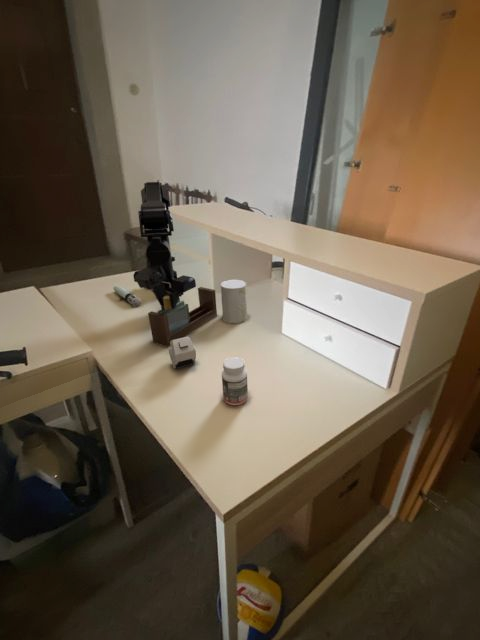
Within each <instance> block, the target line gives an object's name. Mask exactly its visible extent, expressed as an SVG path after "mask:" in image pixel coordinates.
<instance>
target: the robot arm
mask: <svg viewBox="0 0 480 640" xmlns="http://www.w3.org/2000/svg"><path fill="white" fill-rule="evenodd" d="M169 191H170V190H169V189H168V188H166V187H164V186H163V184H162V182H159V181H147V182H144V183H143V188H142V189H141V190H140V196H141V204H140V210H138V211H137V213H138V224H139V231H140V238H146V243H147V244H146V249H145V258H146V267H144V268H141V269H138V270H135V271H134V273H133V281H134V282H135V283H137V285H138V286H139V288H141V289H146V290H148V291H149V290H151V291H152V292H153V293H152V294H153V295H154V296H155V299H156V300H157V302H158V304H159V305H160V310H158V312H157V313H160V312H161V311H163V310H165V308H164V302H163V297H165V296H169V298H170V303H171V307H172V309H175V308H176V305H177V303H178V302H180V301H181V299H180V298H181V297H183V296H184V293H187V292H188V291H190V290H192V289H195V288H196V287H197V283H196V278H195V277H193V276H188V275H180V276H178V274H177V270H175V269H174V266H173V262H175V261H176V257H175V256H172V252H171V245H170V237H171V236H173V233H172V232H175V229H174V223H173V214H172V213H171V211H170V208H171V200H170V199H171V198H170V192H169Z"/></svg>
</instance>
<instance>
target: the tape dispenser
mask: <svg viewBox="0 0 480 640" xmlns="http://www.w3.org/2000/svg"><path fill="white" fill-rule="evenodd" d="M170 345H171V346H170V347H168V354H169V357H170V362H171V364H172V367H173V369H178V368H183V367H186V366H191V365H194V364H195V363H196V359H197V352H196V348H195V346H194V344H193V342H192V340H191V338H190V336H185V337H183V338H179V339H175V340H172V341H170Z"/></svg>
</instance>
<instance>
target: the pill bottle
mask: <svg viewBox="0 0 480 640" xmlns="http://www.w3.org/2000/svg"><path fill="white" fill-rule="evenodd" d="M245 365H246V364H245V360H244V359H243V358H241V357H236V356H231V357H227V358H226V359H224V361H223V362H222V369H223V370H222V371H221V381H222V382H221V385H222V397H223V401H224V402H225V403H227V404H228V405H231V406H238V405H242V404H244V403H245V402H246V401H247V400H248V397H249V393H248V392H249V390H248V372H247V369H246V368H245V367H246V366H245Z"/></svg>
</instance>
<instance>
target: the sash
mask: <svg viewBox="0 0 480 640" xmlns="http://www.w3.org/2000/svg"><path fill="white" fill-rule="evenodd" d="M163 302H164V308H165V310H163V311H161V312H160V314H163V315H166V314H168V313H170V312H171V311H173V310H175V309H177V308H179V307H181V306H183V305H185V301H184V300H180V302H178V303H177V305H176V308H175V309H172V307H171V303H170V298H169V296H165V297H163Z"/></svg>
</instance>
